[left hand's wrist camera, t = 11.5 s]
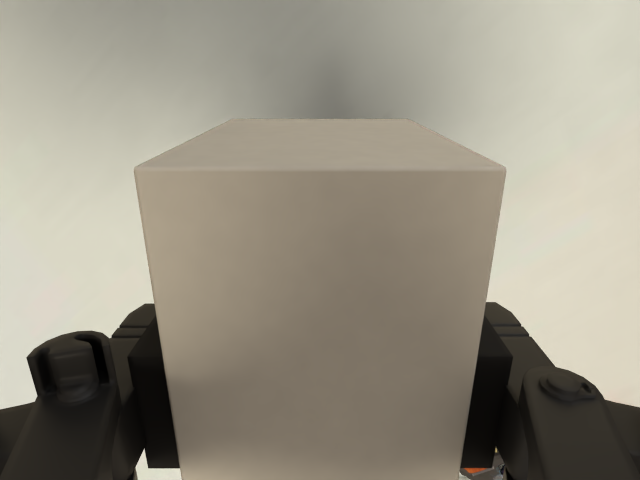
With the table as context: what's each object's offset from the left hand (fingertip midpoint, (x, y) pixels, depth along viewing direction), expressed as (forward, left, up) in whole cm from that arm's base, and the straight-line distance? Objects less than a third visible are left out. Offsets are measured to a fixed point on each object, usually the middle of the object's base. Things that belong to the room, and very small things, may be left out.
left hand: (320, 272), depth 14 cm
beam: (+22, +5, -1) cm, 23 cm away
